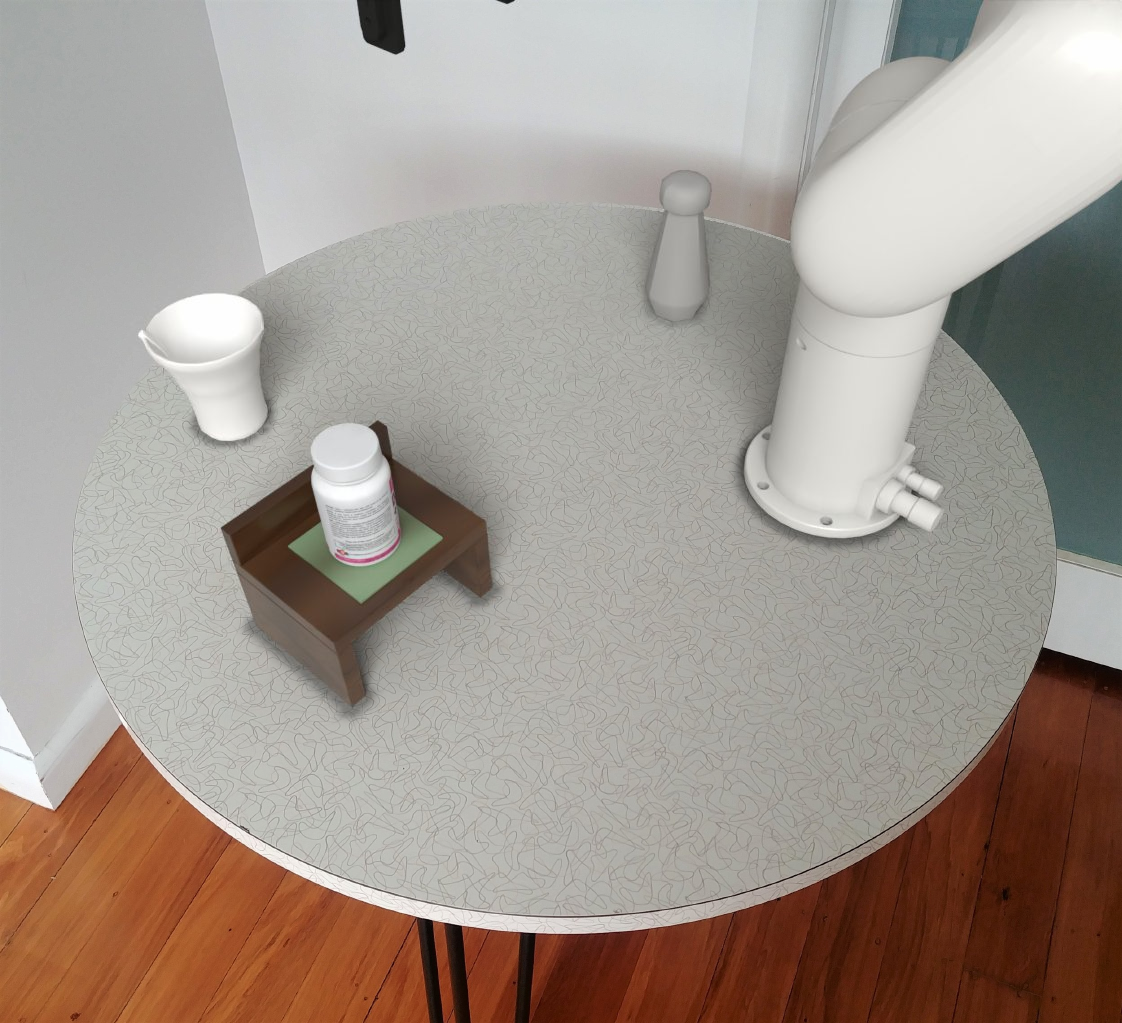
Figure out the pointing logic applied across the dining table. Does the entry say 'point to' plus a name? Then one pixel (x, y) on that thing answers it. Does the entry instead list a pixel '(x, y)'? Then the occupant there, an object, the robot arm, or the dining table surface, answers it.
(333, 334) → the dining table surface
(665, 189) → the salt shaker
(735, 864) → the dining table surface
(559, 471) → the dining table surface
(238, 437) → the cup
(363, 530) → the pill bottle
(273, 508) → the shelf
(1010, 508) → the dining table surface
